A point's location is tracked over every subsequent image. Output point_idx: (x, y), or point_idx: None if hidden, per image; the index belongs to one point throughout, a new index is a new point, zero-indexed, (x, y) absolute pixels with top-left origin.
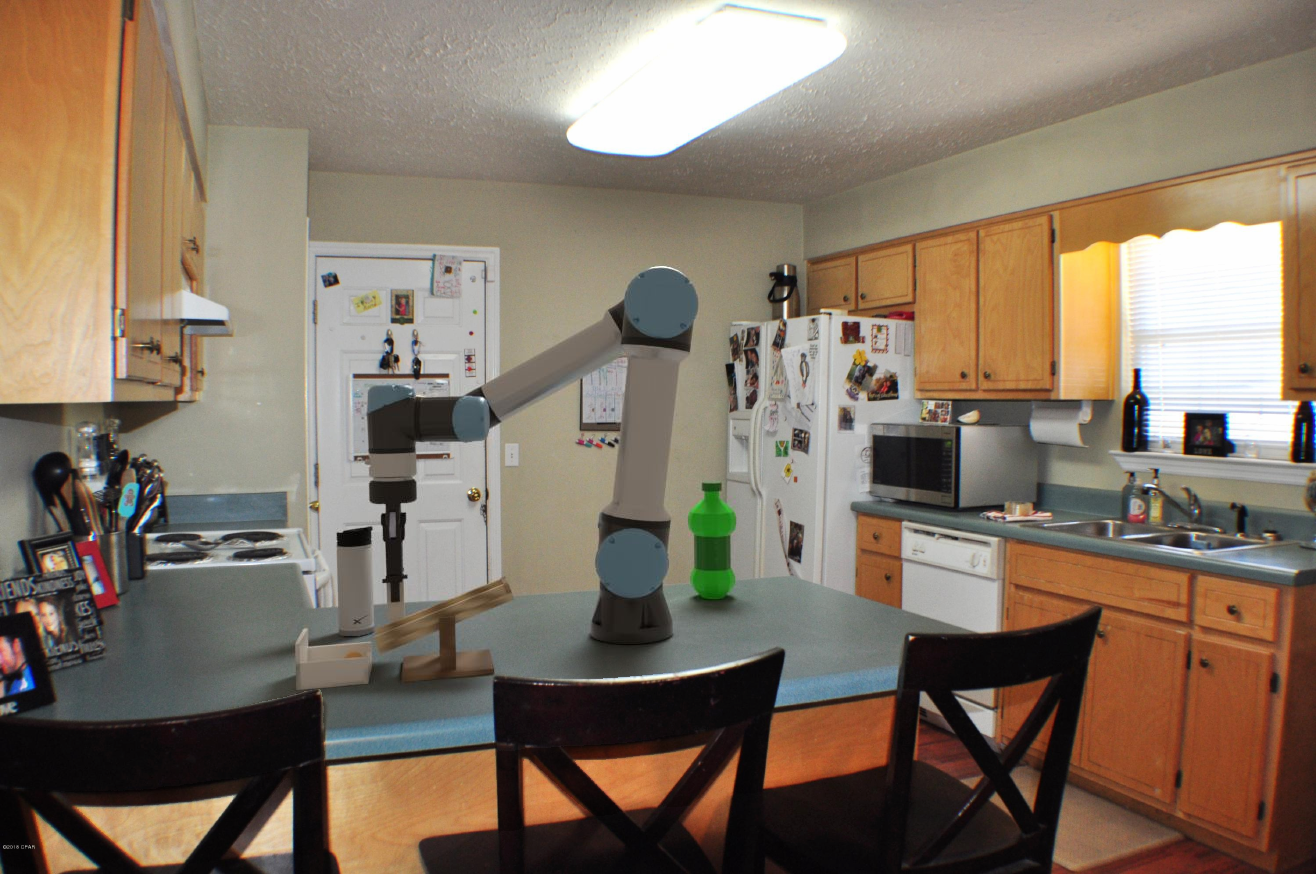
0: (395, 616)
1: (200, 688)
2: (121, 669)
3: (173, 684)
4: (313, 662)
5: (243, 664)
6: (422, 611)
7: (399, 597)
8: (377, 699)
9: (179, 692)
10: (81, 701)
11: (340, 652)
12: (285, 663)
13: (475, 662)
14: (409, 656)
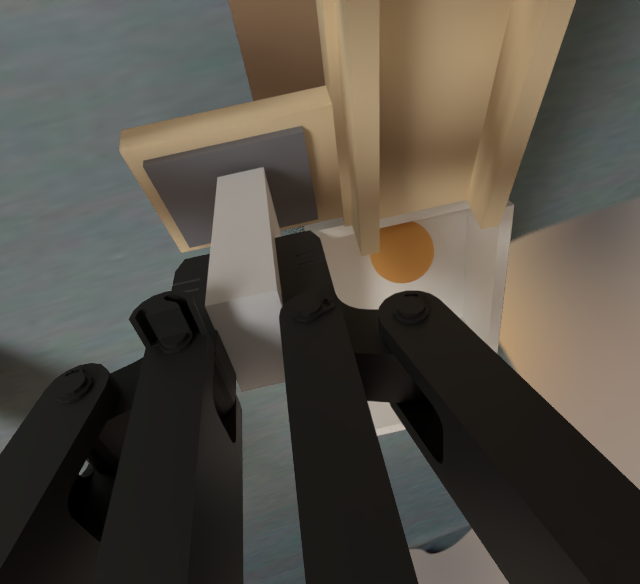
0: (275, 217)
1: (400, 454)
2: (274, 563)
3: None
4: (498, 330)
5: (258, 459)
6: (377, 53)
7: (320, 245)
8: (633, 100)
9: (413, 468)
10: (418, 531)
11: None
12: (256, 403)
13: None
14: (256, 95)
